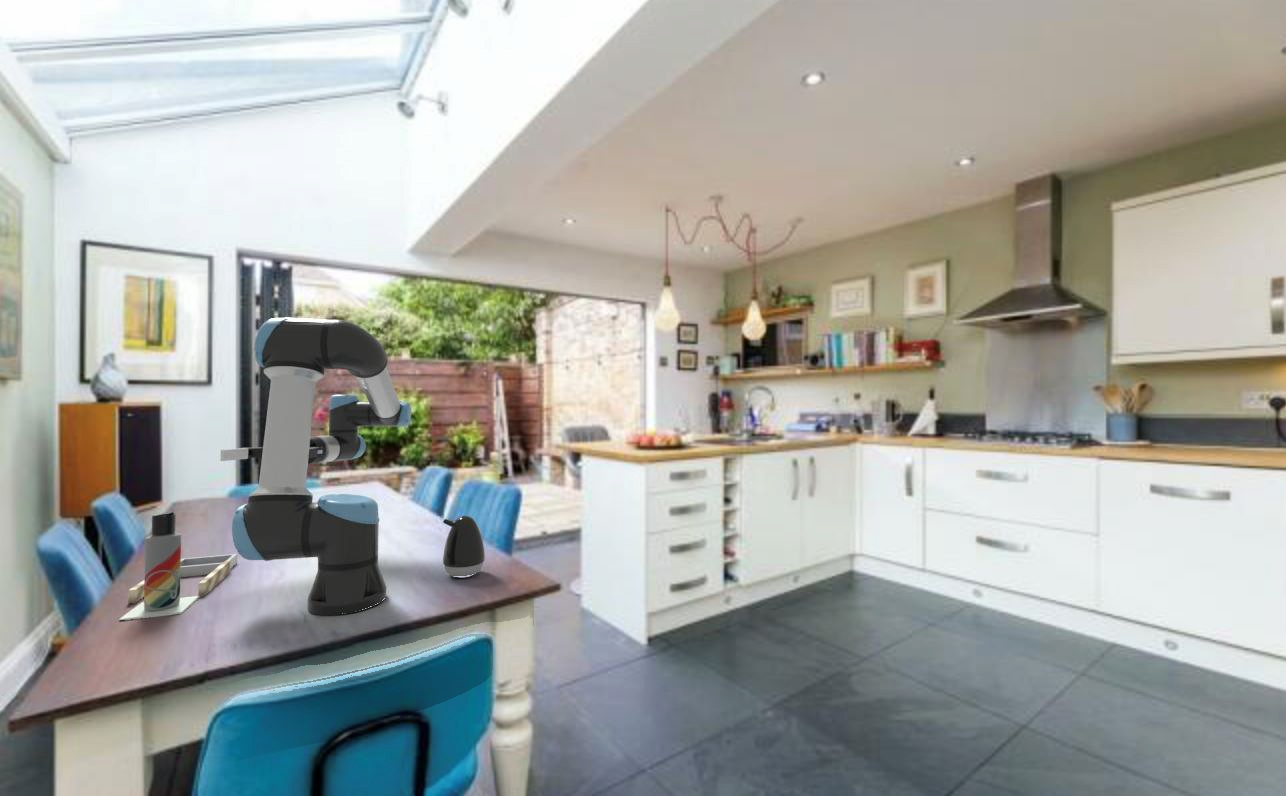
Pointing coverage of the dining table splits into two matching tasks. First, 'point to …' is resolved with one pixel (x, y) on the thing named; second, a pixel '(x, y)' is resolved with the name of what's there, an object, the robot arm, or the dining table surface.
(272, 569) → the dining table surface
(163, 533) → the lotion bottle
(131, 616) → the pad
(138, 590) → the oak channel
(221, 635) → the dining table surface
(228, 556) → the pit bin
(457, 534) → the pump dispenser
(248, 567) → the dining table surface
